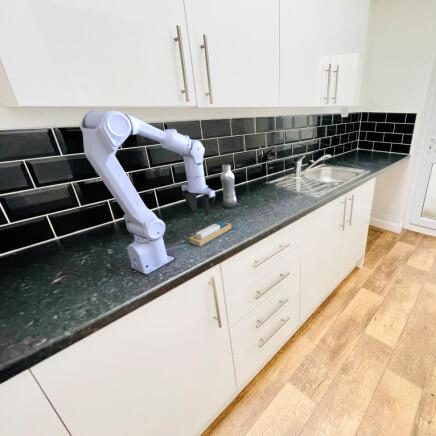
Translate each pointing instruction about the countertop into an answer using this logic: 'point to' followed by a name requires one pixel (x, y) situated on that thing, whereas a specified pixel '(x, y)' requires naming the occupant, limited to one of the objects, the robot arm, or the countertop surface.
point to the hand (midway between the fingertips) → (201, 212)
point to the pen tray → (211, 236)
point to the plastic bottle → (228, 186)
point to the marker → (210, 230)
